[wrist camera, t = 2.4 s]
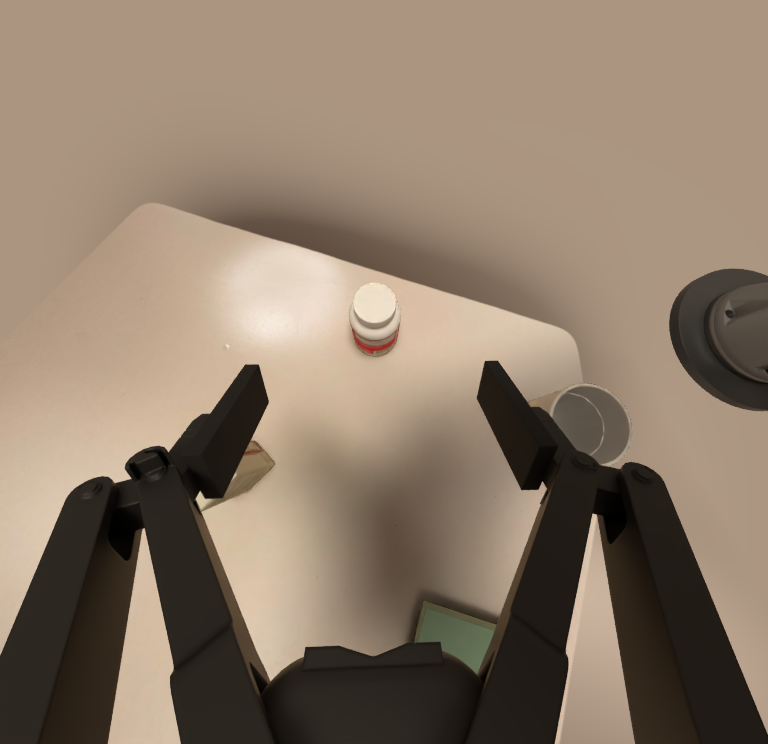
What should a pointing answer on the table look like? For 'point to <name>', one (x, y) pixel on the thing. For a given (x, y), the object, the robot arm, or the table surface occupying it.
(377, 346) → the pill bottle
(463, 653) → the green rounded-end slab
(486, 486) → the table surface
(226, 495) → the small juice carton
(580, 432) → the cup
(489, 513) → the table surface
